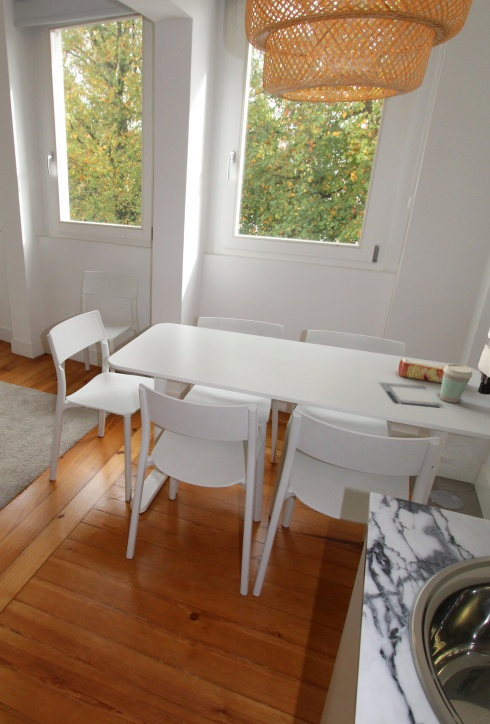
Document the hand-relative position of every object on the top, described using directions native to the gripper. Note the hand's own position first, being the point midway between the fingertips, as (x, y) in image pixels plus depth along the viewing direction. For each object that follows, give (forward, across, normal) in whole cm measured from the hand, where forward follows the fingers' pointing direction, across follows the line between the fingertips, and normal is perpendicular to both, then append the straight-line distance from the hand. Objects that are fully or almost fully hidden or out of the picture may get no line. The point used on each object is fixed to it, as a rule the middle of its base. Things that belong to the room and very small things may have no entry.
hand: (483, 393), depth 162 cm
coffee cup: (+3, 0, +10) cm, 11 cm away
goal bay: (+3, 0, +24) cm, 24 cm away
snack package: (+3, +17, +12) cm, 21 cm away
